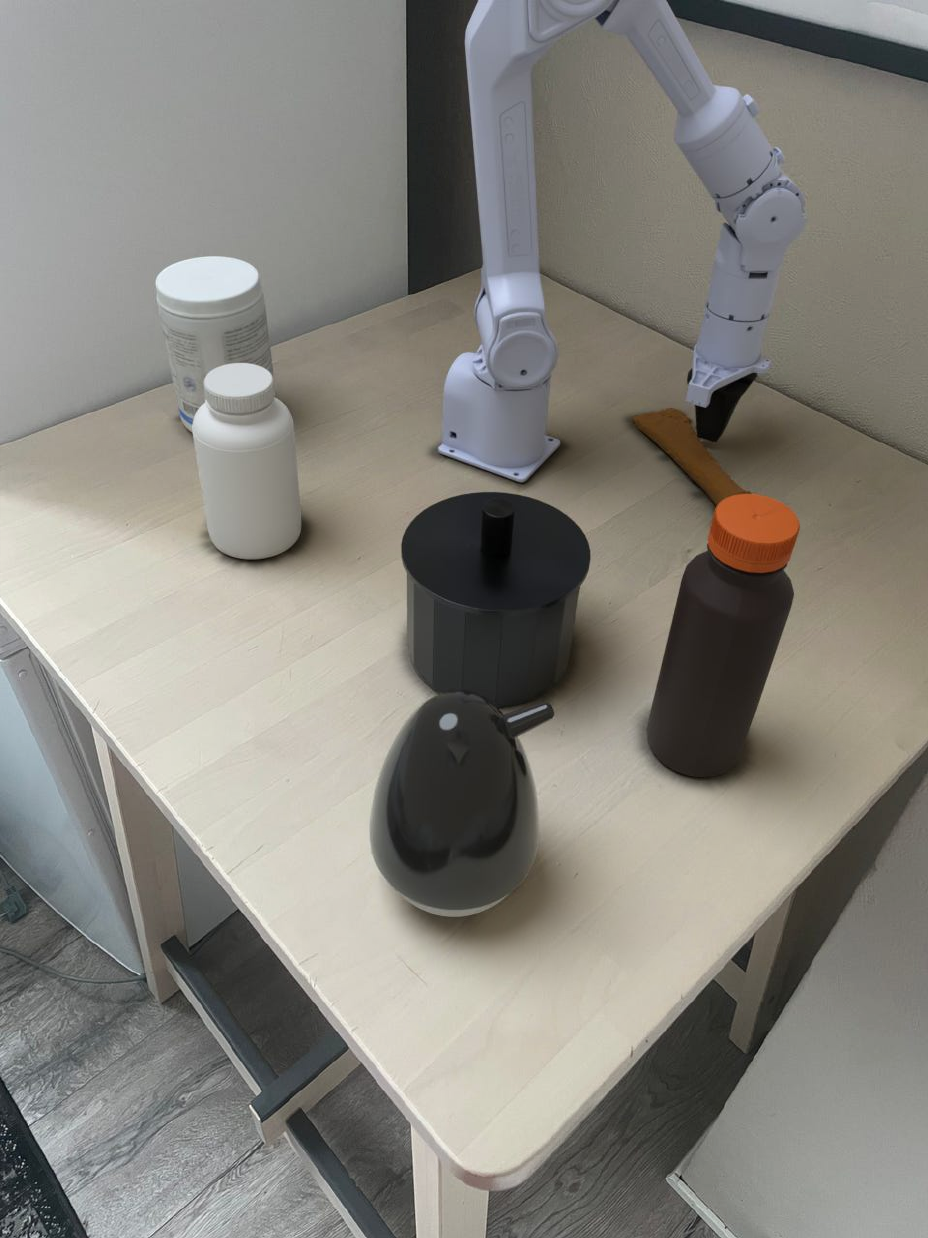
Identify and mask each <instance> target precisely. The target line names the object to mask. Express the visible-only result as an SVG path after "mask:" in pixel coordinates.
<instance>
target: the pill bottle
mask: <svg viewBox="0 0 928 1238" xmlns="http://www.w3.org/2000/svg"><path fill="white" fill-rule="evenodd" d="M274 381H275V378H274V379H273V376H272V375H271V373H270V372H269V371H268V370H266V369H265V368H263V367H261V366H258V365H254V364H249V363H232V364H226V365H223V366H220V367H217V368H215V369H213V370H212V371H210V372H209V373H208V374H207V375H206V377H205V379H204V391H205V398H206V399H205V403H204V404H203V405H202V406H201V407H200V408H199V409H198V411H197V412H196V414H195V416H194V420H193V425H192V432H193V433H192V432H191V433H192V438H193V444H194V451H195V457H196V462H197V470H198V476H199V482H200V489H201V495H202V502H203V508H204V514H205V520H206V521H205V522H206V526H207V531H208V535H209V539H210V541H211V543H212V544H213V545H214V547H215V548H216V549H217V550H218V551H219V552H221V553H223V554H225V555H227V556H228V557H232V558H234V559H235V558H236V559H241V560H262V559H263V560H264V559H267V558H272V557H275V556H277V555H280V554H282V553H284V552H286V551H287V550H289V549H290V548H292V546H293V545H295V544H296V543H297V541H298V539H299V538H300V535H301V531H302V511H301V499H300V487H299V486H300V485H299V474H298V462H297V461H298V460H297V450H296V449H297V448H296V438H295V435H296V434H295V426H294V420H293V416H292V414H291V412H290V410H289V408H288V407H287V406H286V404H285V403H283V402H282V401H281V400H280V399H279V398H277V397H276V398H275V397H274V396H275V389H276V388H275V389H274Z"/></svg>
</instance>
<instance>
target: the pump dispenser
mask: <svg viewBox="0 0 928 1238" xmlns="http://www.w3.org/2000/svg"><path fill="white" fill-rule="evenodd" d="M554 718H555V709H554V708H553V704H552V703H551V702H550V701H548V700H543V701H541V702H540V701H539V702H538V703H534V704H532V705H529V706H525V707H523V708H519V709H516V710H513V711H509V712H507V713H504V712H503V711H501V709H500V708H499V707H496V706H495V705H494V704H493V703H492V702H490V701H489V700H488V699H487V698H485V697H484V696H482V695H480V694H478V693H475V692H472V691H467V690H449V691H445V692H441V693H436V694H434V695H433V696H431V697H429V698H427V699H426V700H424V701H423V702H422V703H421V704H420V705H419V706H417V708H416V709H415V710H413V712H411V714H410V715H409V716H408V718H407V719H406V720H405V722H404V723H403V724H402V726H401V728H400V729H399V731H398V733H397V734H396V736H395V737H394V739H393V741H392V743H391V745H390V747H389V749H388V751H387V754H386V756H385V758H384V761H383V763H382V765H381V768H380V771H379V773H378V777H377V779H376V780H377V781H376V784H375V788H374V793H373V798H372V802H371V808H370V809H371V810H370V816H369V828H368V830H369V845H370V851H371V855H372V858H373V861H374V863H375V866H376V867H377V869H378V871H379V873H380V874H381V876H382V877H383V879H385V881H386V882H387V883H388V884H389V885H390V886H391V887H392V888H393V889H394V890H395V892H396V893H398V895H399V896H401V897H402V898H403V899H404V900H405V901H406V902H407V903H409V904H411V905H412V906H414V907H416V908H417V909H420V910H422V911H424V912H426V913H429V914H433V915H437V916H441V917H454V918H457V917H467V916H471V915H476V914H479V913H482V912H484V911H486V910H489V909H491V908H493V907H494V906H496V905H497V904H499V903H500V902H502V901H503V900H504V899H506V897H508V896H510V894H511V893H512V892H513V891H515V889H517V888H518V887H519V886H520V885H521V884H522V883H523V881H524V880H525V879H526V877H527V876H528V875H529V873H530V871H531V870H532V867H533V865H534V863H535V861H536V857H537V853H538V848H539V841H540V811H539V801H538V794H537V788H536V781H535V778H534V773H533V771H532V770H533V769H532V767H531V764H530V761H529V758H528V755H527V753H526V751H525V748H524V746H523V744H522V742H521V740H520V738H519V737H520V736H522V735H524V734H527V733H528V732H530V731H532V730H534V729H536V728H538V727H540V726H542V725H544V724H546V723H547V722H550V721H551V720H553V719H554Z"/></svg>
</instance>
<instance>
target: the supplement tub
mask: <svg viewBox="0 0 928 1238" xmlns="http://www.w3.org/2000/svg"><path fill="white" fill-rule="evenodd" d="M155 290H156V297H155V298H156V302H157V309H158V313H159V319H160V323H161V329H162V333H163V339H164V343H165V349H166V353H167V359H168V364H169V368H170V373H171V378H172V384H173V388H174V389H173V390H174V393H175V400H176V404H177V408H178V412H179V417H180V420H181V422H182V425H184V427H185V428H186V429H187V430H188V431H189V432H191V433H192V434H193V432H192V425H193V420H194V416H195V414H196V412H197V411H198V409H199V408H200V407H201V406H202V405H203V404H204V403H205V399H206V398H205V391H204V379H205V377H206V375H207V374H208V373H209V372H210V371H212V370H213V369H215V368H217V367H220V366H223V365H226V364H232V363H249V364H254V365H258V366H261V367H263V368H265V369H266V370H268V371H269V372H270V373H271V375H272V376H273V379H274V389H275V396H274V397H275V398H277V389H276V381H275V373H274V368H273V367H274V366H273V365H274V364H273V357H272V349H271V342H270V333H269V324H268V317H267V309H266V303H265V301H266V300H265V294H264V289H263V286H262V284H261V277H260V273H259V271H258V269H257V268H256V267H255V266H254V265H252V264H251V263H249V262H247V261H246V260H242V259H239V258H235V257H231V256H230V257H229V256H219V255H218V256H217V255H214V256H213V255H210V256H209V255H208V256H198V257H192V258H188V259H183V260H180V261H178V262H175V263H172V264H170V265H169V266H167V267H165V268H164V269H162V271H160V272H159V274H158V275H156V278H155Z"/></svg>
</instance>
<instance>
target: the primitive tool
mask: <svg viewBox="0 0 928 1238" xmlns="http://www.w3.org/2000/svg"><path fill="white" fill-rule="evenodd" d="M631 421H632V422H633V423H634V425H635V426H636V427H637V429H638V430H639V431H641V432H642V433H643V434H644V435H646V436H647V437H648V438H649V439H650V440H652V441H653V442H654V443H655V444H656V445H658V446H659V448H660V449H662V450H663V451H664V452H665V453H666V455H668V456H669V457H670V458H671V459H672V460H673V461H674V462H675V464H677V466H679V467H680V468H681V469H682V470H683V472H685V473H686V474H687V475H688V477H689V478H690V479H691V480H693V481H694V483H696V484H697V485H698V486H699V487H700V488H701V489H702V490H703V492H705V494H707V495H708V497H709V498H710V499H711V501H712V502H713V503H714V505H715V506H716V507H717V505H718V503H720V501H721V502H722V500H724V499H726V498H728V497H729V496H730V497H731V496H732V495H738V494H753V493H752V492H751V491H748V490H745V489H743V488H742V487H741V486H739V485H738V484H737V483H736V482H735V481H734V480H733V479H732V478H731V476H730V474H728V473H726V471H724V470H723V468H722V467H721V466H720V464H719V463H718V461H717V459H715V457H713V455H712V454H711V452H710V451H709V450H708V448H707V447H705V445H704V444H703V442H702V441H701V438H698V437H697V432H696V431H695V429H694V427H693V426H692V422H693V420H692V419H691V418H690V417H688V416H687V414H686V413H684V412H683V411H681V410H679V409H677V408H672V407H671V408H665V409H661V410H659V411H654V412H653V411H652V412H645V413H639V414H633V415H632V417H631Z"/></svg>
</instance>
